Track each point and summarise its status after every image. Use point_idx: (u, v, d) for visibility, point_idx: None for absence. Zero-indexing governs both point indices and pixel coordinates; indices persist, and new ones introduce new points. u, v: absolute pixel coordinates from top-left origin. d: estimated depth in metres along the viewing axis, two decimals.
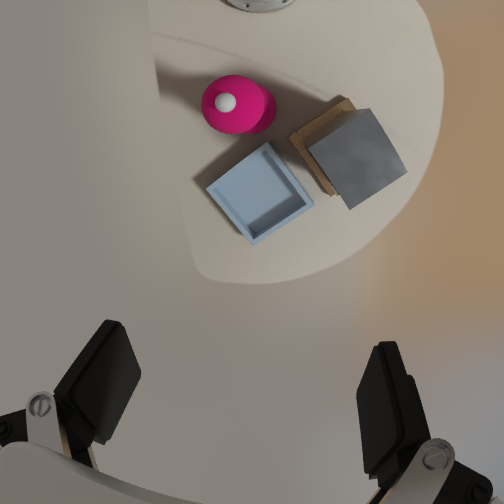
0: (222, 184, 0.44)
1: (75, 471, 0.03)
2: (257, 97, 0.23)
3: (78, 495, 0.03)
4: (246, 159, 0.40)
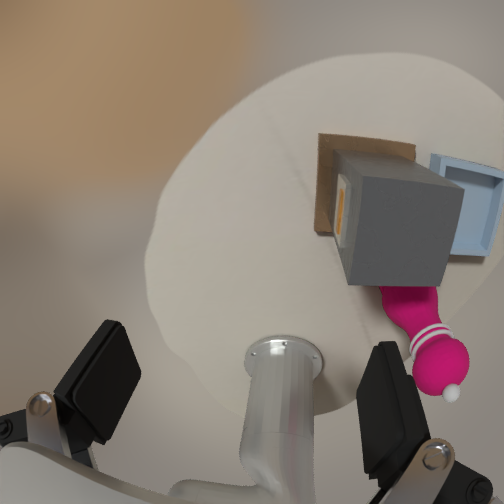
0: (475, 241, 0.30)
1: (75, 471, 0.03)
2: (430, 373, 0.19)
3: (78, 495, 0.03)
4: None
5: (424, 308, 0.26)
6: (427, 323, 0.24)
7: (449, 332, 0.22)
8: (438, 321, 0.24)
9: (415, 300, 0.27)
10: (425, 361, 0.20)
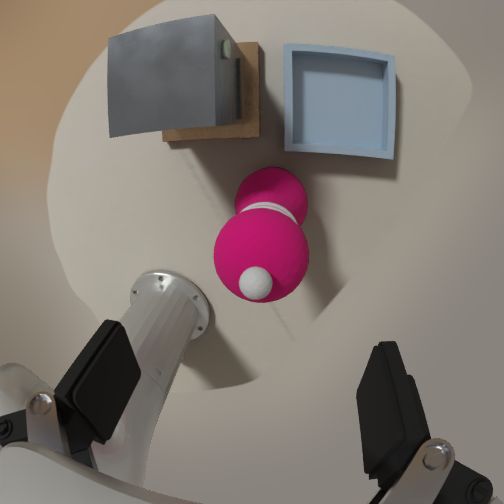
0: (372, 145, 0.28)
1: (75, 471, 0.03)
2: (219, 248, 0.17)
3: (78, 495, 0.03)
4: (322, 150, 0.27)
5: (262, 196, 0.23)
6: None
7: (278, 210, 0.19)
8: None
9: (255, 191, 0.24)
10: (218, 235, 0.18)
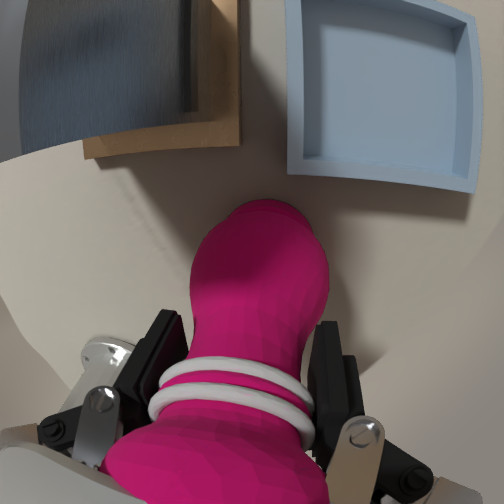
0: (439, 164, 0.14)
1: (75, 471, 0.03)
2: None
3: (78, 495, 0.03)
4: (361, 173, 0.14)
5: (232, 302, 0.10)
6: (205, 351, 0.08)
7: (262, 402, 0.06)
8: (254, 349, 0.08)
9: (219, 279, 0.11)
10: None
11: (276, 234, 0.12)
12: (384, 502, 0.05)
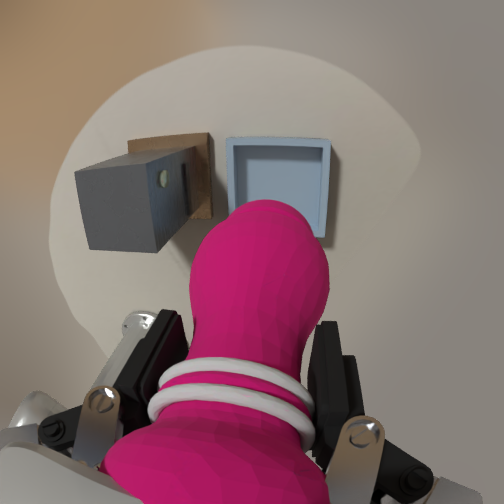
0: (309, 222, 0.36)
1: (75, 471, 0.03)
2: None
3: (78, 495, 0.03)
4: None
5: (232, 302, 0.10)
6: (204, 351, 0.08)
7: (262, 403, 0.06)
8: (254, 350, 0.08)
9: (219, 279, 0.11)
10: None
11: (276, 234, 0.12)
12: (384, 502, 0.05)
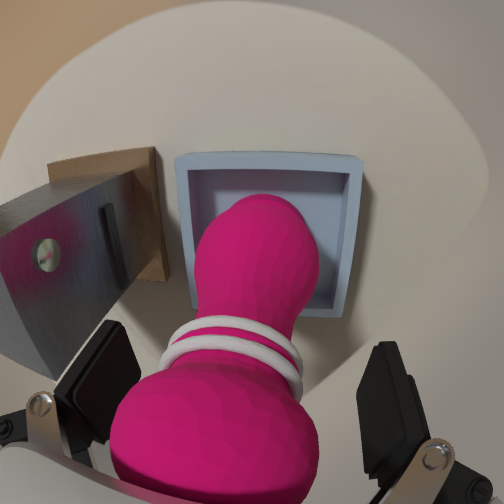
0: (317, 290, 0.22)
1: (75, 471, 0.03)
2: (112, 459, 0.05)
3: (78, 495, 0.03)
4: None
5: (231, 276, 0.12)
6: (209, 314, 0.10)
7: (255, 350, 0.08)
8: (250, 312, 0.10)
9: (221, 259, 0.13)
10: (114, 418, 0.06)
11: (270, 221, 0.14)
12: None
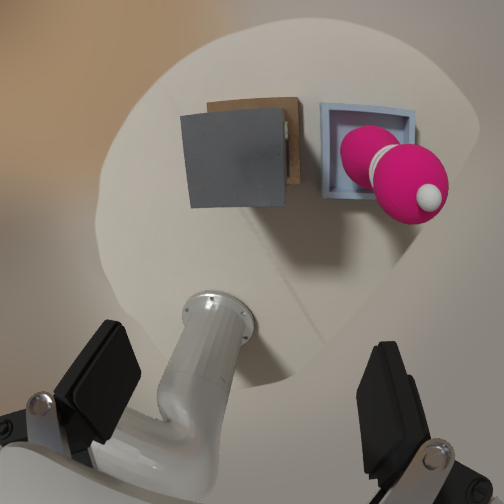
0: None
1: (75, 471, 0.03)
2: (390, 171, 0.17)
3: (78, 495, 0.03)
4: (353, 196, 0.33)
5: (382, 144, 0.23)
6: None
7: None
8: None
9: (371, 141, 0.24)
10: (381, 163, 0.18)
11: (384, 130, 0.25)
12: None
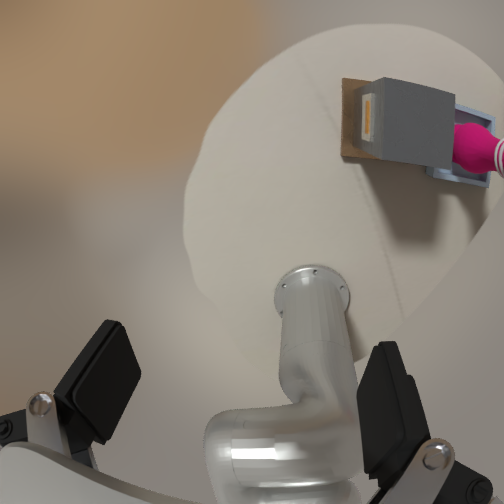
0: (475, 176, 0.34)
1: (75, 471, 0.03)
2: None
3: (78, 495, 0.03)
4: (453, 179, 0.33)
5: (493, 137, 0.23)
6: None
7: None
8: None
9: (483, 134, 0.24)
10: None
11: (485, 128, 0.25)
12: None
